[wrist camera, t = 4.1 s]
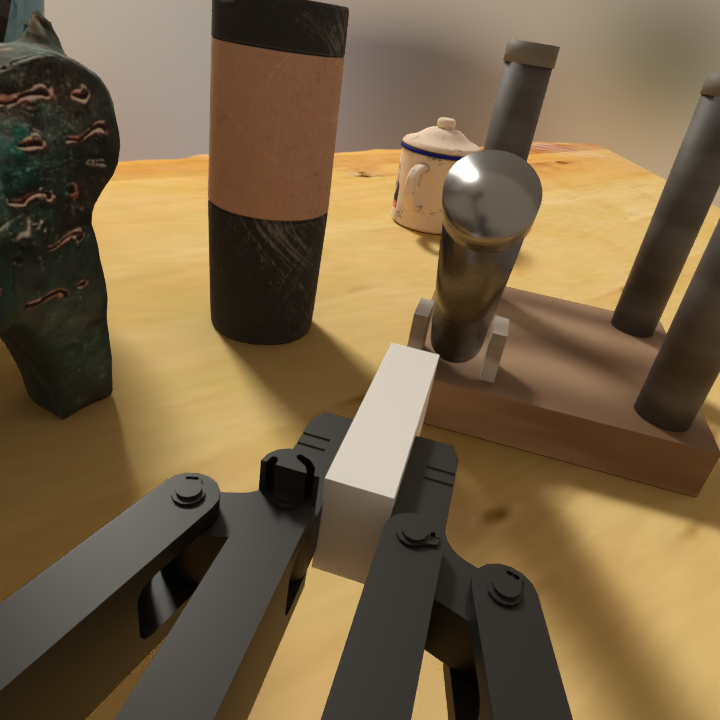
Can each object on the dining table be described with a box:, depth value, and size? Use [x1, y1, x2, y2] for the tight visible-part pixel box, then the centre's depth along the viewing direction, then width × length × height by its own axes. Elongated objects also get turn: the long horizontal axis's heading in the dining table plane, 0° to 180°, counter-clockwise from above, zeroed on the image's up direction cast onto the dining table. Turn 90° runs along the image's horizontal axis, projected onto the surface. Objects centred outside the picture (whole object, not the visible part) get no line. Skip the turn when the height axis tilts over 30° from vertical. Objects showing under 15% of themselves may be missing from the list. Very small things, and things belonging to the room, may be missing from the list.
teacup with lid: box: [391, 117, 481, 234], centre depth 65 cm, size 12×9×12 cm
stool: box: [407, 39, 720, 497], centre depth 35 cm, size 17×17×20 cm
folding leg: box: [431, 150, 542, 363], centre depth 26 cm, size 3×3×15 cm
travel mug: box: [208, 0, 349, 345], centre depth 37 cm, size 8×8×20 cm
